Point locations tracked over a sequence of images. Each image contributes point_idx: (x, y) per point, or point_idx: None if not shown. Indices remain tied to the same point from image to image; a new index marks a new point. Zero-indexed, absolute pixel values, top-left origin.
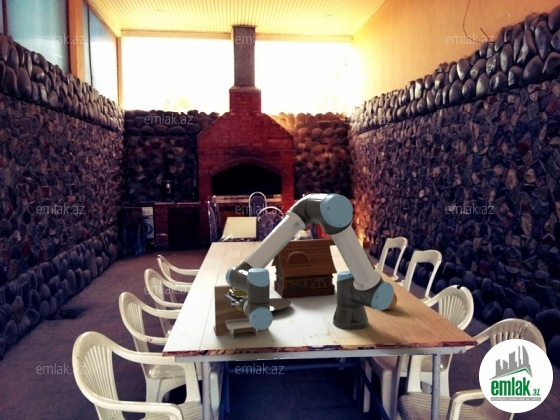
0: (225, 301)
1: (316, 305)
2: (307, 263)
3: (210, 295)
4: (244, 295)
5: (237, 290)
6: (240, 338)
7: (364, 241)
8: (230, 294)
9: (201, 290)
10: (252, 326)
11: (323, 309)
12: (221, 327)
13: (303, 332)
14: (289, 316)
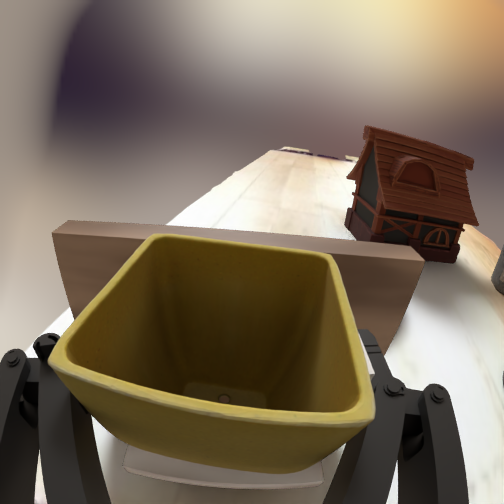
0: (22, 410)
1: (442, 294)
2: (432, 189)
3: (218, 214)
4: (195, 440)
5: (84, 380)
6: (199, 486)
7: None
8: (42, 374)
9: (210, 201)
10: (261, 488)
11: (462, 314)
12: None
13: None
14: (398, 338)
